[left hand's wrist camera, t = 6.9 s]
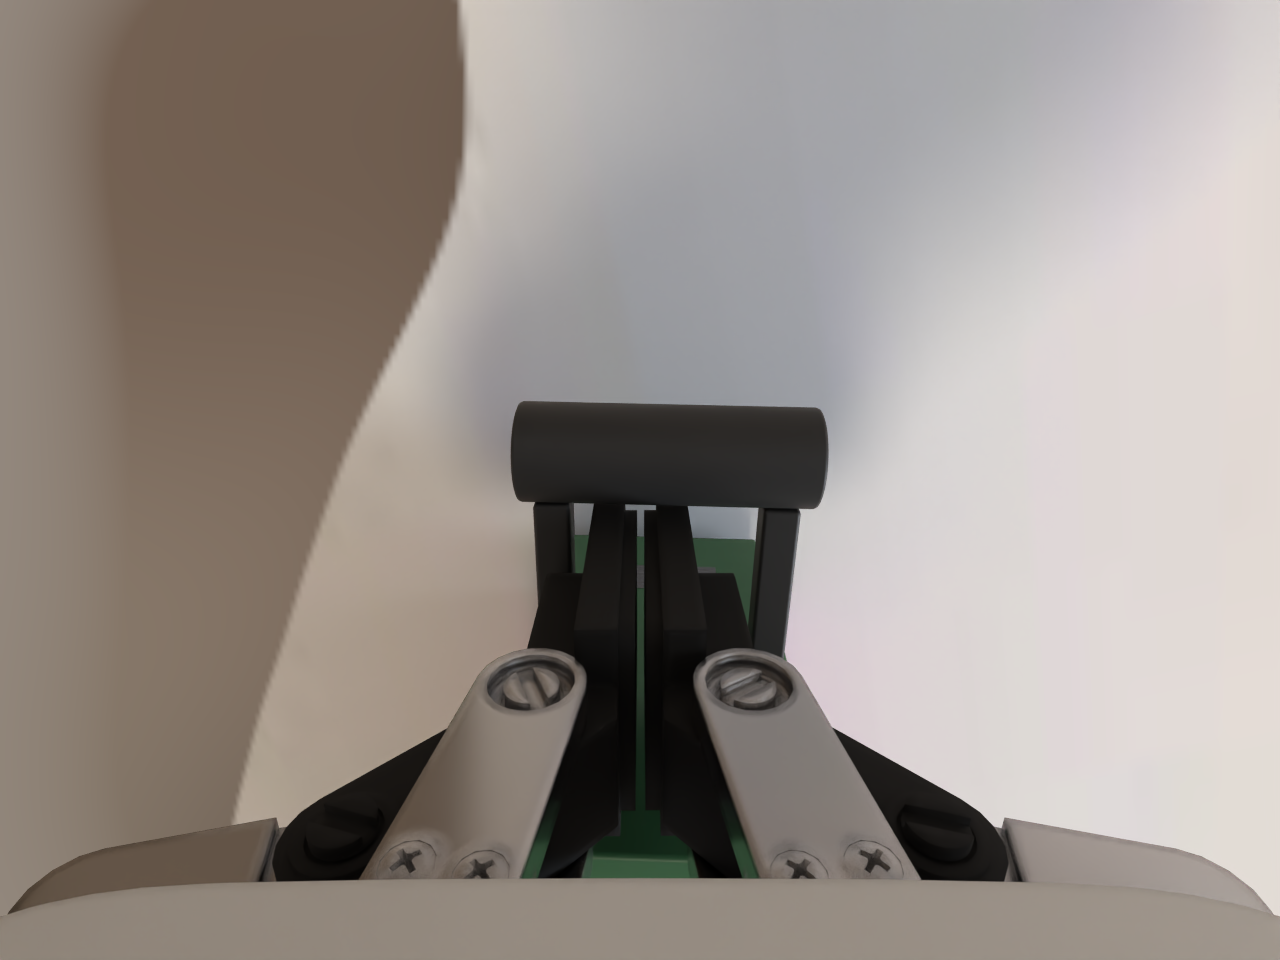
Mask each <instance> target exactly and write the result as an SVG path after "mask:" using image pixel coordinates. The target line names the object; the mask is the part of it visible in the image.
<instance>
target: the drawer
mask: <svg viewBox="0 0 1280 960" xmlns="http://www.w3.org/2000/svg"><path fill="white" fill-rule="evenodd" d="M827 471H828V434H827V427H826V422H825V419H824V416H823V413H822V411H821V410H820V409H818V408H807V407H762V406H717V405H672V404H628V403H583V402H538V401H523V402H521V403H520V404H519V405H518V407H517V410H516V413H515V416H514V421H513V427H512V437H511V473H512V482H513V487H514V491H515V494H516V497H517V499H518V500H519V501H522V502H535V504H534V507H533V513H534V532H535V552H536V571H537V591H538V605H539V602H540V598H541V594H542V590H543V586H544V582H545V578H546V576H547V573H583V569H584V563H585V557H586V551H587V544H588V538H589V535H575V534H574V503H594V504H634V505H673V506H712V507H752V508H759V510H758V521H757V532H756V542H755V541H754V540H748V539H710V538H693V544H694V550H695V556H696V562H697V569H698V573H734V575H735V578H736V582H737V586H738V590H739V593H740V597H741V601H742V605H743V609H744V613H745V617H746V621H747V624H748V628H749V632H750V636H751V640H752V644H753V648H754V649H755V650H761V651H766V652H768V653H771V654H774V655H776V656H779V657H781V658H783V659H784V660H785V661H787V660H786V656H785V652H784V651H785V642H786V634H787V625H788V617H789V608H790V600H791V591H792V583H793V574H794V566H795V557H796V549H797V541H798V532H799V524H800V515H801V514H800V511H799V509H814V508H816V507H818V505H819V504H820V502H821V499H822V497H823V494H824V490H825V485H826V479H827ZM590 878H690V875H689V871H688V862H687V845H686V844H685V843H684V842H683V841H681V840H680V839H679V838H678V837H676V836H661V831H660V810H645V717H644V537H637V718H636V810H635V811H621V828H620V836H605V837H604V838H602V839H601V840H600V841H599V842H598V843H596V844H595V845H594V846H593V862H592V871H591V875H590Z"/></svg>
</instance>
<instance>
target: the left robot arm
mask: <svg viewBox="0 0 1280 960" xmlns="http://www.w3.org/2000/svg"><path fill="white" fill-rule="evenodd" d="M644 717H645V810H660V831H661V836H676V837H678V838H679V839H680V840H681V841H683V842H684V843H685V844H686V845H687V862H688V871H689V875H690V878H590V875H591V871H592V862H593V846H594V845H595V844H596V843H598V842H599V841H600V840H601V839H602V838H604V837H605V836H620V828H621V811H635V810H636V718H637V510H625V504H594V507H593V513H592V520H591V526H590V532H589V538H588V544H587V551H586V557H585V563H584V569H583V573H547V576H546V578H545V582H544V586H543V590H542V594H541V598H540V602H539V605H538V609H537V613H536V617H535V621H534V625H533V628H532V632H531V636H530V640H529V644H528V648H527V649H525V650H519V651H514V652H512V653H509V654H506V655H504V656H501V657H499V658H497V659H496V660H495V661H493V662H492V663H490V664H489V665H487V666H486V667H485V668H484V670H483V671H482V672H481V673H480V674H479V675H478V677H477V679H476V680H475V682H474V684H473V686H472V687H471V689H470V691H469V692H468V694H467V696H466V697H465V699H464V701H463V703H462V704H461V706H460V708H459V709H458V711H457V713H456V715H455V716H454V718H453V720H452V721H451V723H450V725H449V727H448V728H447V729H445V730H443V731H442V732H440V733H438V734H436V735H434V736H433V737H431V738H429V739H427V740H426V741H424V742H422V743H420V744H418V745H417V746H415V747H413V748H411V749H409V750H408V751H406V752H404V753H402V754H400V755H399V756H397V757H395V758H393V759H391V760H390V761H388V762H386V763H384V764H382V765H381V766H379V767H377V768H375V769H373V770H372V771H370V772H368V773H366V774H364V775H363V776H361V777H359V778H357V779H355V780H354V781H352V782H350V783H348V784H346V785H345V786H343V787H341V788H339V789H337V790H336V791H334V792H332V793H330V794H328V795H327V796H325V797H323V798H321V799H320V800H318V801H317V802H315V803H314V804H312V805H311V806H309V807H308V808H306V809H305V810H304V811H302V812H301V813H300V814H299V815H298V816H297V817H296V818H295V819H294V820H293V821H292V822H291V823H290V824H289V825H288V826H287V827H283V828H279V826H278V822H277V819H276V818H271V819H266V820H260V821H255V822H249V823H244V824H238V825H232V826H227V827H221V828H216V829H210V830H205V831H199V832H194V833H188V834H183V835H177V836H172V837H166V838H160V839H155V840H149V841H144V842H138V843H133V844H127V845H122V846H116V847H111V848H105V849H102V850H99V851H95V852H92V853H89V854H85V855H82V856H79V857H77V858H75V859H73V860H71V861H69V862H67V863H66V864H64V865H62V866H60V867H58V868H56V869H54V870H52V871H51V872H50V873H48V874H47V875H46V876H44V877H43V878H42V879H41V880H39V881H38V882H37V883H35V884H34V885H33V886H32V887H30V888H29V889H28V890H27V891H26V892H25V893H24V894H23V896H22V897H21V898H20V899H19V900H18V902H17V903H16V904H15V905H14V906H13V907H12V909H11V910H10V911H9V913H8V914H7V915H4V916H1V917H0V960H1280V917H1279V916H1276V915H1274V914H1273V913H1272V911H1271V910H1270V909H1269V908H1268V906H1267V905H1266V904H1265V903H1264V902H1263V901H1262V899H1261V898H1260V897H1259V896H1258V895H1257V894H1256V892H1255V891H1254V890H1253V889H1252V888H1250V887H1249V886H1248V885H1247V884H1245V883H1244V882H1243V881H1241V880H1240V879H1239V878H1238V877H1236V876H1235V875H1234V874H1232V873H1231V872H1230V871H1228V870H1226V869H1225V868H1223V867H1221V866H1219V865H1217V864H1215V863H1213V862H1211V861H1209V860H1207V859H1205V858H1204V857H1202V856H1198V855H1195V854H1192V853H1188V852H1185V851H1182V850H1179V849H1175V848H1169V847H1164V846H1158V845H1153V844H1147V843H1142V842H1136V841H1131V840H1125V839H1120V838H1114V837H1109V836H1103V835H1098V834H1092V833H1087V832H1081V831H1076V830H1070V829H1065V828H1059V827H1054V826H1048V825H1043V824H1037V823H1032V822H1026V821H1021V820H1015V819H1010V818H1004V822H1003V826H1002V828H997V827H994V826H993V825H992V824H991V823H990V822H989V821H988V820H987V819H986V818H985V817H984V816H983V815H982V814H981V813H980V812H979V811H977V810H976V809H974V808H973V807H972V806H970V805H969V804H967V803H966V802H964V801H963V800H961V799H960V798H958V797H956V796H954V795H952V794H951V793H949V792H947V791H945V790H943V789H942V788H940V787H938V786H936V785H934V784H933V783H931V782H929V781H927V780H926V779H924V778H922V777H920V776H918V775H917V774H915V773H913V772H911V771H909V770H908V769H906V768H904V767H902V766H900V765H899V764H897V763H895V762H893V761H891V760H890V759H888V758H886V757H884V756H882V755H881V754H879V753H877V752H875V751H874V750H872V749H870V748H868V747H866V746H865V745H863V744H861V743H859V742H857V741H856V740H854V739H852V738H850V737H848V736H847V735H845V734H843V733H841V732H839V731H838V730H836V729H834V728H832V727H831V725H830V723H829V721H828V720H827V718H826V716H825V715H824V713H823V711H822V709H821V708H820V706H819V704H818V703H817V701H816V699H815V697H814V696H813V694H812V692H811V691H810V689H809V687H808V686H807V684H806V682H805V680H804V679H803V677H802V675H801V674H800V673H799V672H798V671H797V670H796V668H795V667H794V666H793V665H791V664H790V663H788V662H787V661H785V660H784V659H783V658H781V657H779V656H776V655H774V654H771V653H768V652H766V651H761V650H755V649H754V648H753V644H752V640H751V636H750V632H749V628H748V624H747V621H746V617H745V613H744V609H743V605H742V601H741V597H740V593H739V590H738V586H737V582H736V578H735V575H734V573H698V569H697V562H696V556H695V550H694V544H693V537H692V531H691V525H690V519H689V512H688V506H673V505H656V510H644Z"/></svg>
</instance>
